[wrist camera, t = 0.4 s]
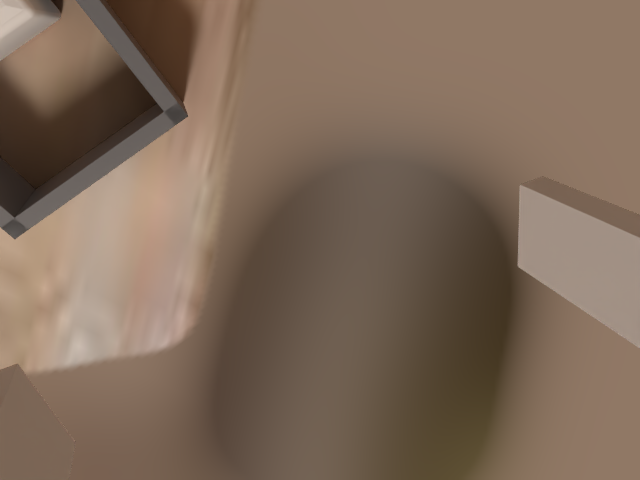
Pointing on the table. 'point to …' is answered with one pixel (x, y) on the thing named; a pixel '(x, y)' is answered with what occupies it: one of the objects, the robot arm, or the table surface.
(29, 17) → the container
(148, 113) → the bay
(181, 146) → the table surface
